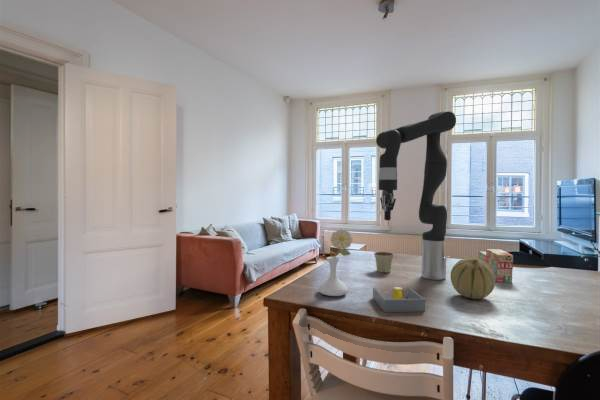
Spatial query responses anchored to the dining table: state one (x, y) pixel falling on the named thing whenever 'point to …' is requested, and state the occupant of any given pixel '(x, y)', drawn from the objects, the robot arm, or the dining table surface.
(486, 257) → the printed cardboard carton
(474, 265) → the cantaloupe
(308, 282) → the dining table surface
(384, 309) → the box
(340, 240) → the flower in vase
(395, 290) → the watch
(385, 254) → the flower pot
